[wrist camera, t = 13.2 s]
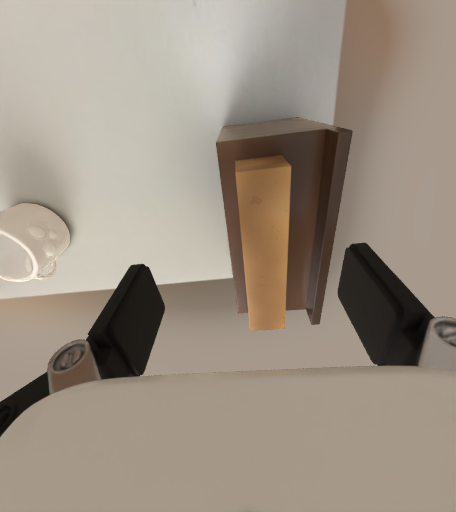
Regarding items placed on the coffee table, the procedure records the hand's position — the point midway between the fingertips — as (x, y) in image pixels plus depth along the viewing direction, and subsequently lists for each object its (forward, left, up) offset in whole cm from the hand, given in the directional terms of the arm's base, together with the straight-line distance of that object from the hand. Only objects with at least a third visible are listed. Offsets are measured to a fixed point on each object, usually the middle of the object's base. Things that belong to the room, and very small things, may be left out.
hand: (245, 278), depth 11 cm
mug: (+34, -8, -27) cm, 44 cm away
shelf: (0, +7, -27) cm, 27 cm away
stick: (+1, +6, -13) cm, 14 cm away
